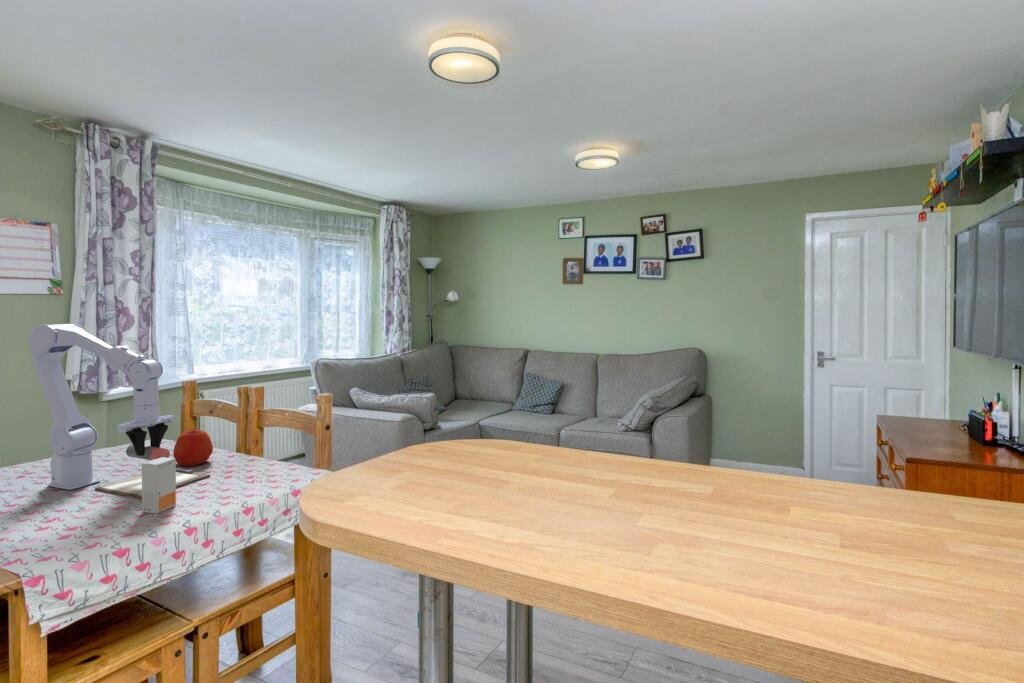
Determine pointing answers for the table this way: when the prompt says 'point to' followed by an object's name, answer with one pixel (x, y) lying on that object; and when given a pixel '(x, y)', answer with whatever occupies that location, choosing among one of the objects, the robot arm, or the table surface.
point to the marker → (148, 452)
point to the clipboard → (134, 484)
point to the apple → (192, 448)
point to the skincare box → (158, 485)
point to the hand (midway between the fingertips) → (147, 453)
